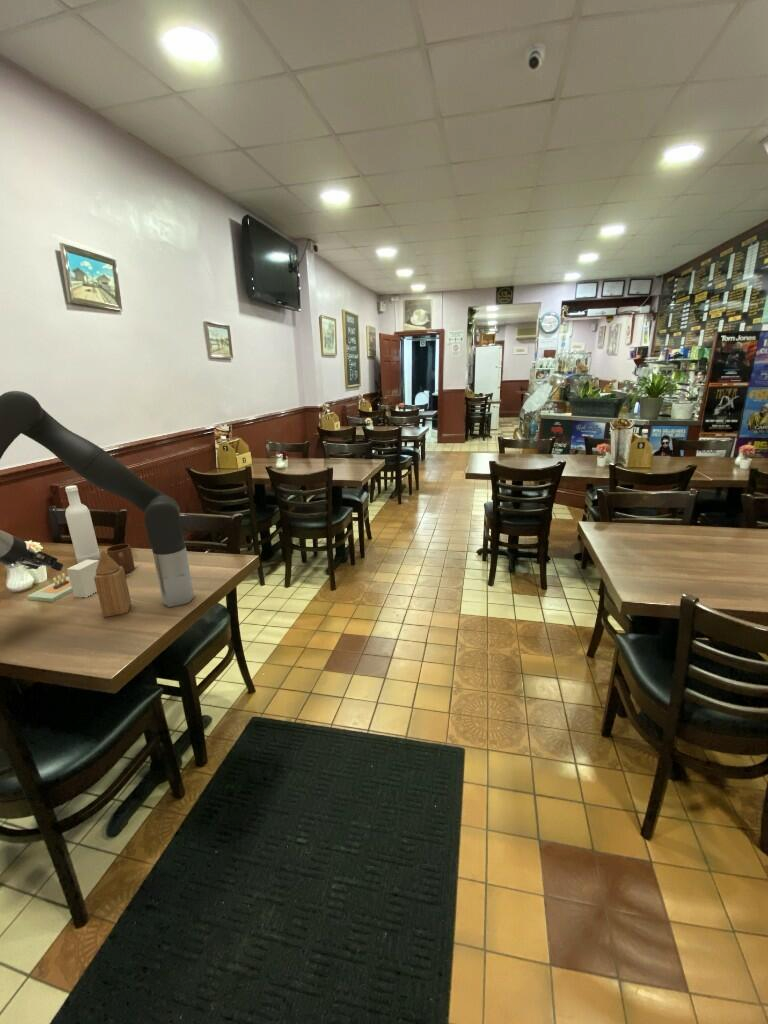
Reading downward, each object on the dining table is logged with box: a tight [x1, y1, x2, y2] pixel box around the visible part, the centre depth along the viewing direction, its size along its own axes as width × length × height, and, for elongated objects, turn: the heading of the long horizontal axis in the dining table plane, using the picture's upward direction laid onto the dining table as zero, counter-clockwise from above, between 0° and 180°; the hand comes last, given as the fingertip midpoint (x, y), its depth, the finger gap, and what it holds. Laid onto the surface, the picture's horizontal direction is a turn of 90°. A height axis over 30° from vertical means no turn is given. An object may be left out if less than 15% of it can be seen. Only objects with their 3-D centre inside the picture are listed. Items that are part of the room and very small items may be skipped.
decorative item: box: [94, 550, 132, 618], centre depth 129 cm, size 7×7×20 cm
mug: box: [106, 543, 136, 574], centre depth 157 cm, size 12×8×9 cm, turn 37°
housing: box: [66, 559, 100, 599], centre depth 143 cm, size 8×5×10 cm, turn 168°
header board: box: [26, 573, 73, 603], centre depth 146 cm, size 16×10×5 cm, turn 168°
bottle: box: [64, 485, 101, 564], centre depth 167 cm, size 8×8×30 cm
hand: (49, 567), depth 130 cm, fingers open, 8 cm apart
